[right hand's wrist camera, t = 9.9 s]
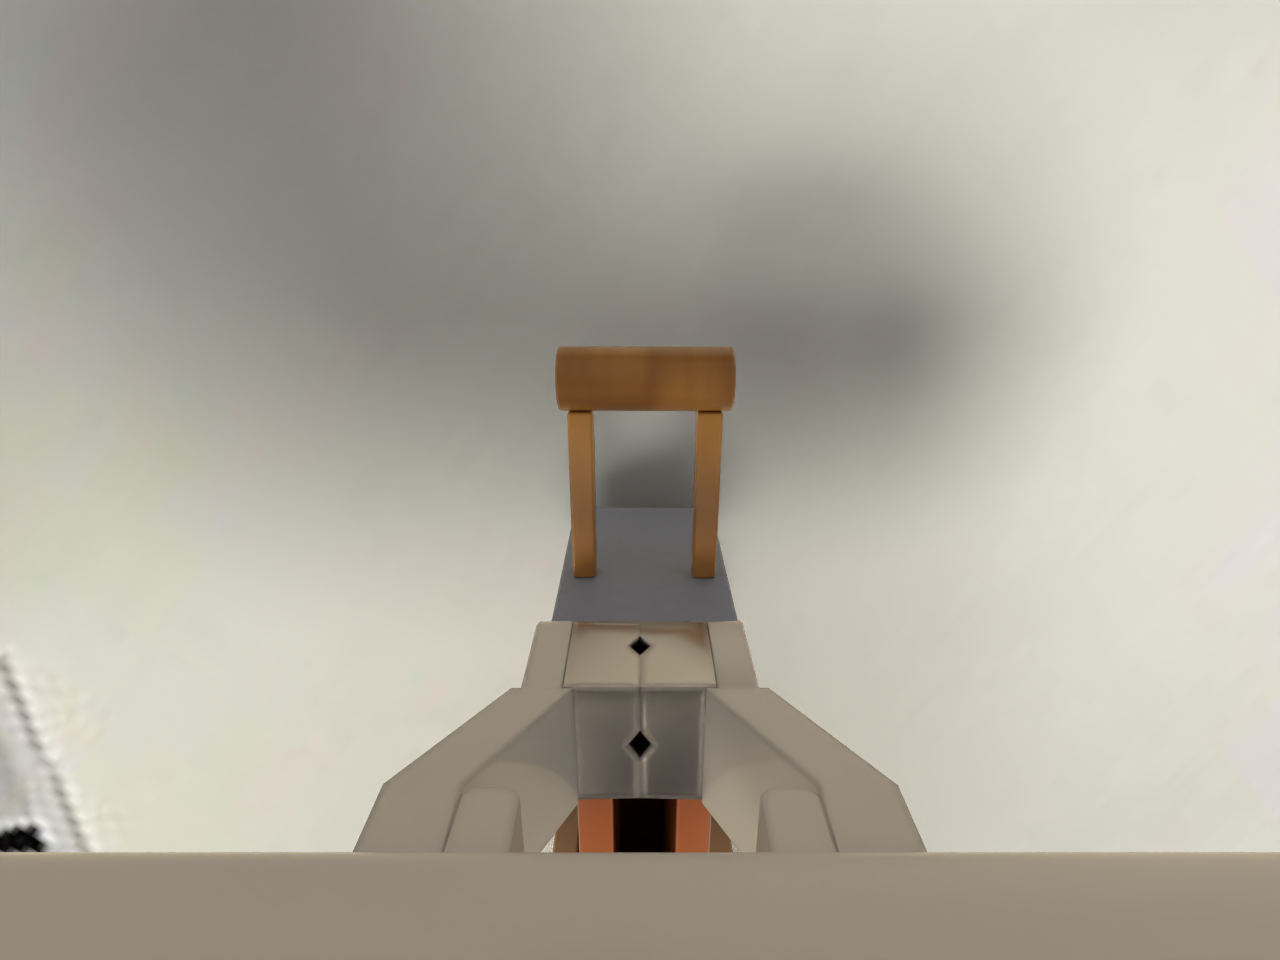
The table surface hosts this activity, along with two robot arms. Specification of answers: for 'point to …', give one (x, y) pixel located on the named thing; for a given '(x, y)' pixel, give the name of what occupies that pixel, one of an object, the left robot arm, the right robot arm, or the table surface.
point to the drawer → (644, 546)
